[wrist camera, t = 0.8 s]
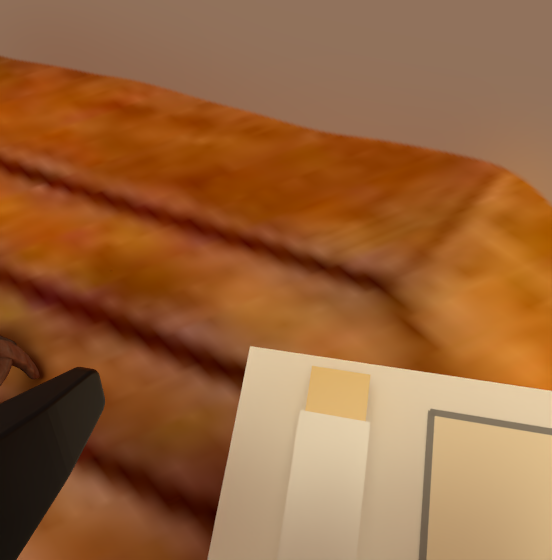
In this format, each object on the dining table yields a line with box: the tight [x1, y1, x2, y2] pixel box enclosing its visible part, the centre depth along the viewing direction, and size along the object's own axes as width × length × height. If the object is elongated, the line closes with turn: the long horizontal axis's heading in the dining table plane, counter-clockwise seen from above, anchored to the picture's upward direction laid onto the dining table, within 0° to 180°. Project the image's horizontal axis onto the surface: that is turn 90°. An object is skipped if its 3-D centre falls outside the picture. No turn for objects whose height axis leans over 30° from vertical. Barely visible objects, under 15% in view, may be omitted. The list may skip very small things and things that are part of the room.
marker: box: [277, 366, 370, 560], centre depth 20 cm, size 9×3×3 cm, turn 170°
